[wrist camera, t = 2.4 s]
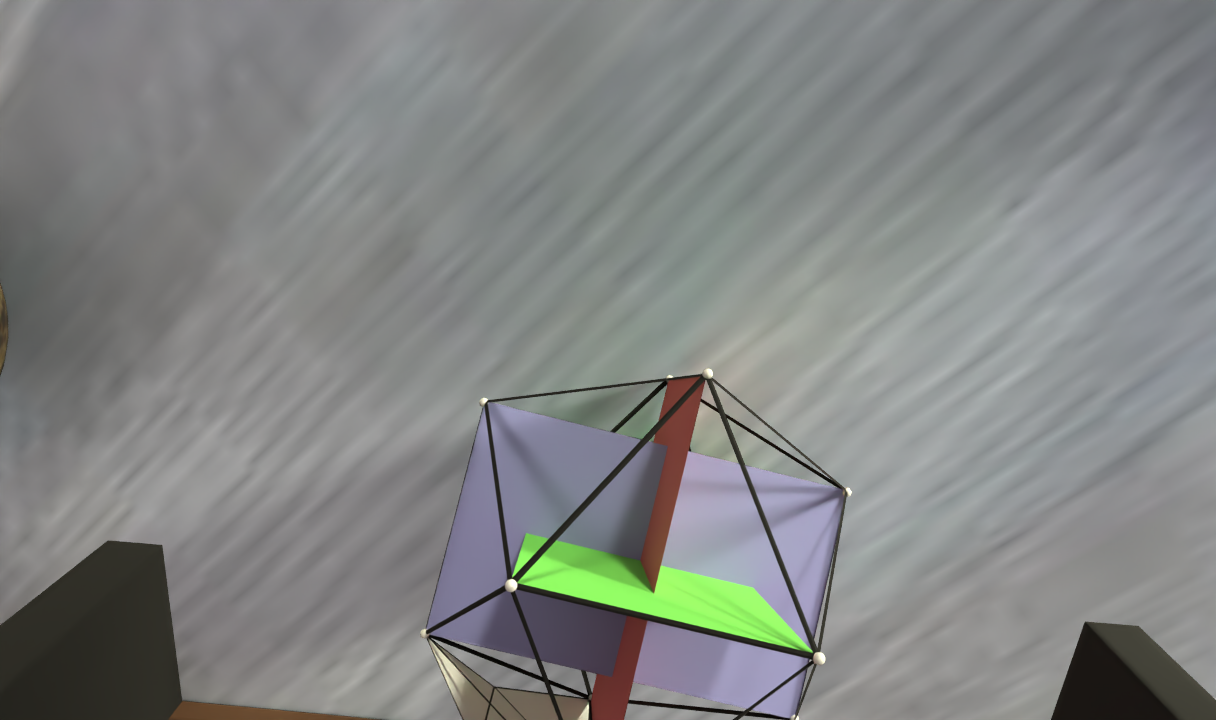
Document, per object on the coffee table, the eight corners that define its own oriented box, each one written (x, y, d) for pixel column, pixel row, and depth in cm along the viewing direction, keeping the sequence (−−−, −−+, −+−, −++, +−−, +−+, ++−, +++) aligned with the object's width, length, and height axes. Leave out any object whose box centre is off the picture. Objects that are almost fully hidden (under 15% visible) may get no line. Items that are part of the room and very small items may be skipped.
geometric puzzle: (521, 210, 12) (324, 750, 7) (916, 312, 12) (971, 895, 7) (501, 419, 18) (386, 787, 13) (765, 484, 18) (744, 867, 13)
